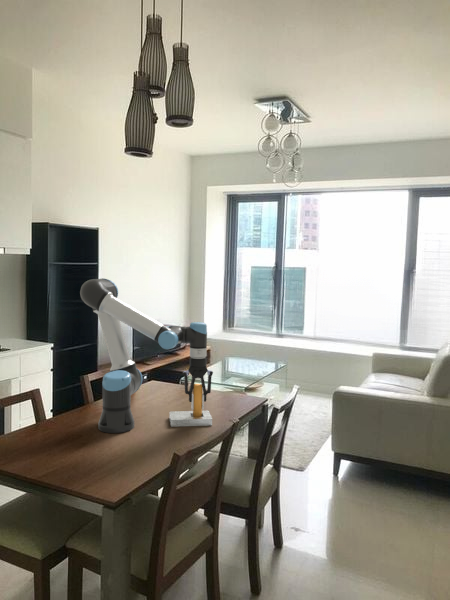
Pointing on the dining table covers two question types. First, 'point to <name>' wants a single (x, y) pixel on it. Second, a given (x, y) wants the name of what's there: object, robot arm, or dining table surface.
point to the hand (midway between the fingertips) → (197, 408)
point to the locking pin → (197, 400)
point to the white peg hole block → (189, 418)
